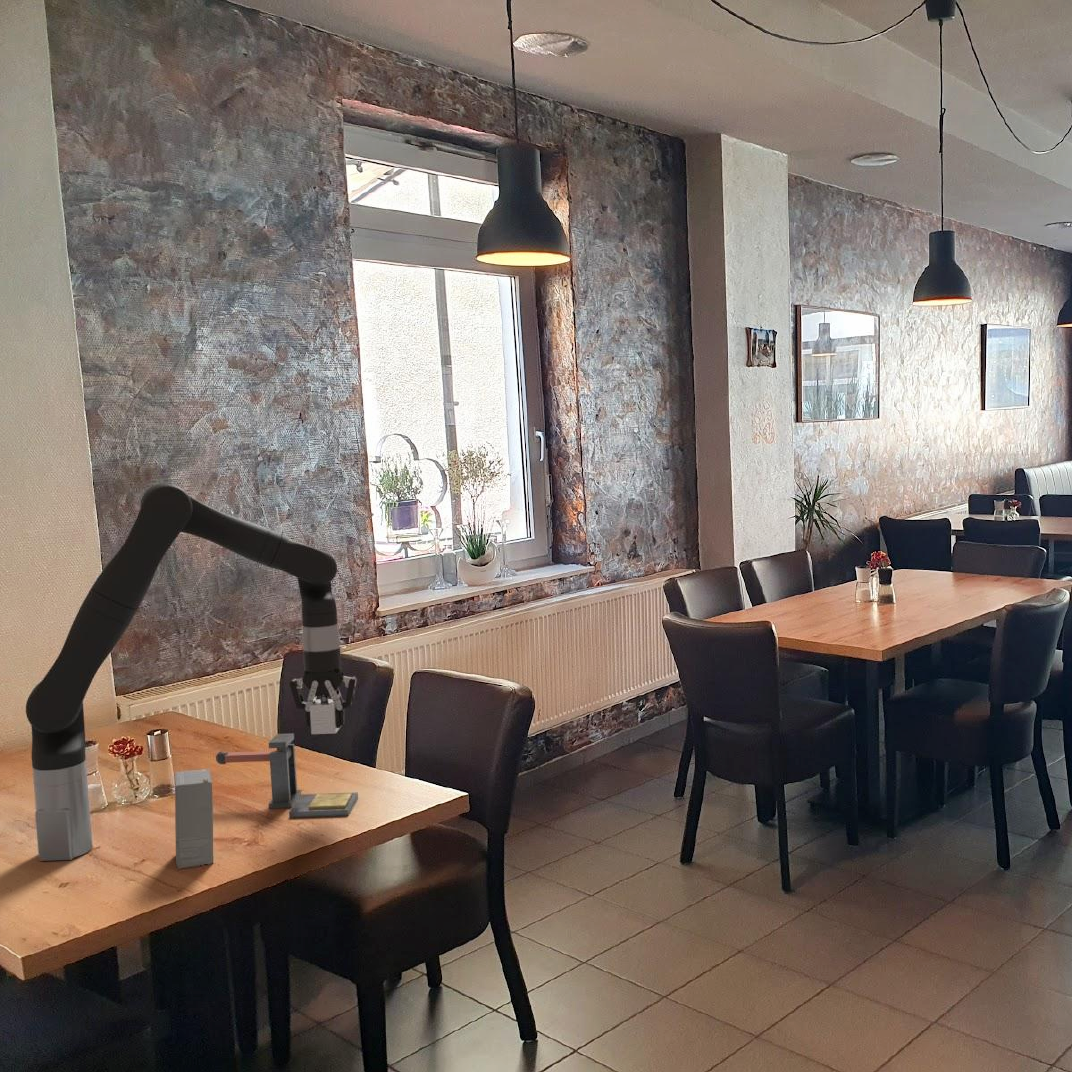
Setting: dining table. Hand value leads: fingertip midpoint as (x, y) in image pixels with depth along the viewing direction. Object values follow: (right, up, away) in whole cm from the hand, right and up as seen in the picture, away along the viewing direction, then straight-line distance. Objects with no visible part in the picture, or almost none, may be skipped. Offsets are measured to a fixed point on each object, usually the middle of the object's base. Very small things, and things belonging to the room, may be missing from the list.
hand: (326, 727), depth 215 cm
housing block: (0, -1, 0) cm, 1 cm away
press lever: (-17, -9, +7) cm, 20 cm away
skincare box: (-19, -20, -24) cm, 36 cm away
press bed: (-4, -17, +4) cm, 18 cm away
